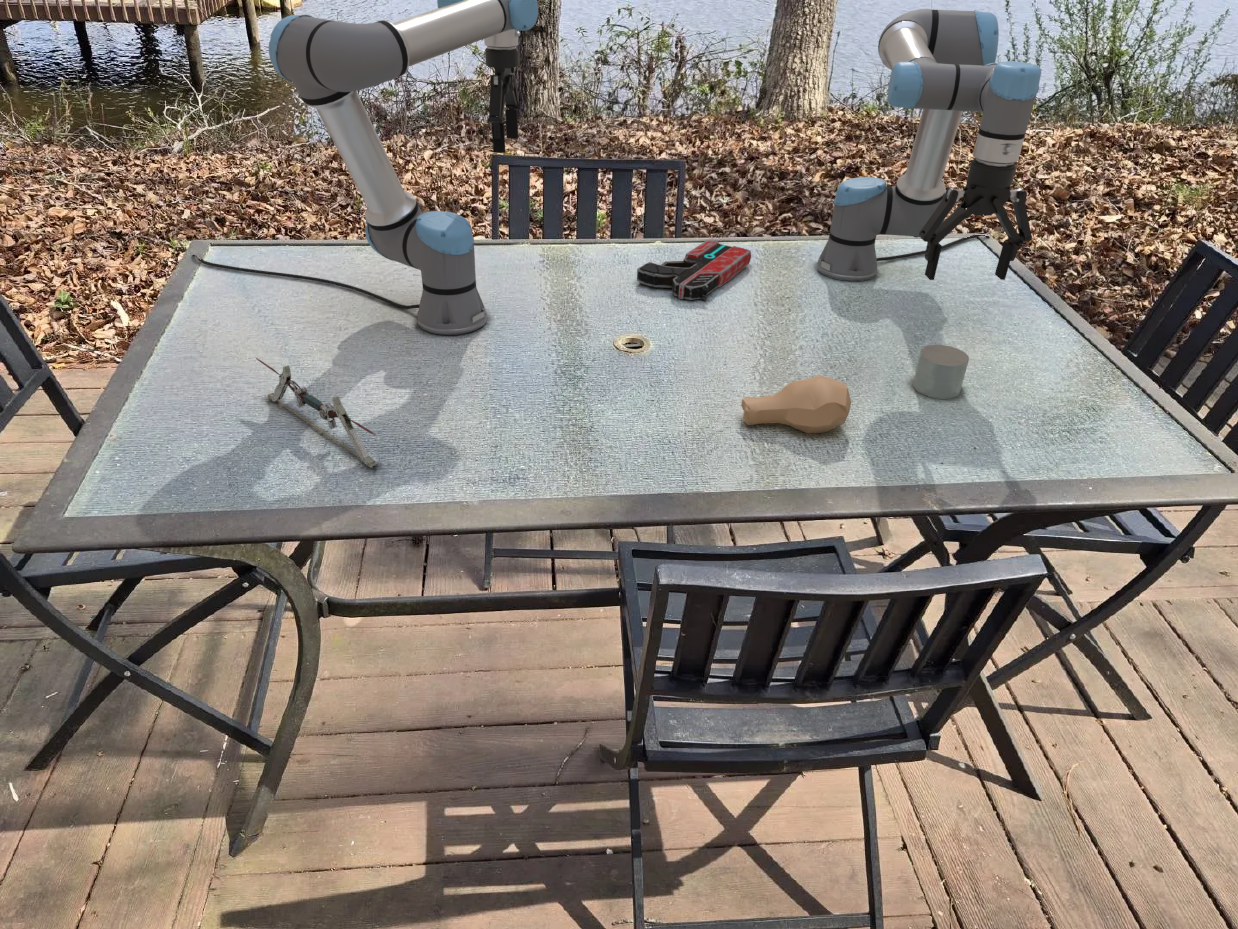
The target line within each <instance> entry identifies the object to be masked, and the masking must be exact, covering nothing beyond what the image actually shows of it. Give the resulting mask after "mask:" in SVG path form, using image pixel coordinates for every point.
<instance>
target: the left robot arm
mask: <svg viewBox="0 0 1238 929" xmlns="http://www.w3.org/2000/svg"><path fill="white" fill-rule="evenodd" d="M436 3H437V8H435V9H432V10H430V11H426V12H423V13H419V14H417V15H414V16H411V17H408V18H405V19H402V20H399V21H398V20H397V21H396V22H390V21H389V20H386V19H380V20H377V21H374V22H370V23H355V22H354V23H353V22H344V21H339V20H331V19H326V18H319V17H314V16H312V15H309V14H291V15H287V16H286V17H283V18H282V19H280V20H279V21H278V22H277V23H276V25H275V26H274V27H273V29H272V31H271V33H270V40H269V42H268V56H269V59H270V60H269V61H270V63H271V65H272V67H273V68H274V70H275V71H276V73H277V74H278V75H279V76H281V78H283V79H284V80H285V81H287V82H292V83H293V85H294V87H295V89H296V90H297V93H298V94H299V96H300V98H301V101H302V102H303V104H304V105H305V106H307V107H310V108H312V109H315V110H316V111H317V113H318V115H319V117H320V119H321V121H322V122H323V125H324V127H325V128H326V131H327V133H328V135H329V136H330V139H331V140H332V142H333V144H334V146H335V148H336V149H337V152H338V154H339V156H340V157H341V159H342V161H343V164H344V165H345V167H346V169H347V171H348V173H349V174H350V176H351V179H352V180H353V182H354V185H355V187H356V188H357V190H358V192H359V194H360V196H361V198H362V200H363V202H364V203H365V205H366V209H365V211H364V212H365V213H364V219H365V225H366V226H365V228H364V234H365V237H366V241H367V242H368V244H369V246H370V247H371V248H372V250H373V251H375V253H376V254H379V256H382V257H383V258H384V259H387V260H389V261H394V262H397V263H399V264H402V265H405V266H408V267H410V268H413V269H416V270H418V271H420V275H421V276H420V277H421V284H422V292H421V297H420V302H419V304H411V305H405V304H401V303H398V302H395V301H393V300H391V299H389V298H386V297H383V296H381V295H379V294H376V293H374V292H371V291H368V290H367V289H362V288H361V287H357V286H353V285H349V284H346V283H343V282H339V281H334V280H329V279H324V278H321V277H320V278H319V277H313V276H307V275H300V274H293V273H284V272H277V271H268V270H259V269H253V268H246V267H238V266H232V265H227V264H226V265H225V264H220V263H214V262H209V261H206V260H204V259H203V258H202V260H200V259H198V258H197V260H198V261H199V262H200V263H202V264H204V265H206V266H209V267H214V268H220V269H225V270H232V271H239V272H246V273H251V274H261V275H269V276H278V277H284V278H292V279H299V280H307V281H313V282H319V283H323V284H329V285H332V286H338V287H342V288H345V289H349V290H353V291H355V292H359V293H362V294H365V295H368V296H370V297H372V298H374V299H378V300H379V301H383V302H384V303H387V304H389V305H392V306H393V307H397V308H400V309H402V310H403V309H404V310H412V309H418V310H417V317H416V318H417V325H418V326H419V328H420V329H421V330H423V331H424V332H427V333H430V334H433V335H440V336H459V335H465V334H469V333H473V332H476V331H477V330H480V329H481V328H483V327H484V326H485V325H486V323H487V320H488V316H487V310H486V306H485V304H484V302H483V299H482V298H481V295H480V293H479V291H478V288H477V278H476V277H477V276H476V258H475V257H476V256H475V238H474V236H473V228H472V225H471V223H470V221H469V220H467V218H466V217H464V216H462V215H461V214H458V213H455V212H451V211H443V210H431V211H427V212H424V213H423V212H422V210H421V207H420V205H419V203H418V200H417V199H416V197H415V195H414V194H413V193H412V192H410V191H406V190H404V188H403V185H402V184H401V181H400V180H399V176H398V175H397V173H396V171H395V168H394V166H393V165H392V162H391V161H390V160H391V159H390V158H389V157H388V154H387V152H386V149H385V148H384V146H383V144H382V141H381V140H380V137H379V135H378V134H377V131H376V129H375V126H374V125H373V122H372V121H371V119H370V116H369V114H368V112H367V110H366V108H365V106H364V104H363V101H362V100H361V97H360V95H359V93H358V91H362V90H367V89H369V88H372V87H376V86H379V85H381V84H383V83H386V82H390V81H392V80H394V79H396V78H400V77H403V76H404V75H406V73H407V72H408V70H409V67H412V66H415V65H418V64H420V63H422V62H426V61H428V60H431V59H433V58H436V57H439V56H441V55H444V54H448V53H450V52H453V51H455V50H458V49H461V48H463V47H466V46H469V45H471V44H474V43H477V42H479V41H480V42H481V41H482V40H483V42H484V46H486V47H485V49H484V56H485V57H484V58H485V66H486V67H488V68H493V70H494V73H493V74H491V75H490V76H489V79H490V93H489V108H488V118H487V123H488V124H491V132H492V133H491V135H492V153H498V154H499V153H500V154H506V139H514V140H515V139H519V123H518V121H519V120H518V110H521V107H522V106H521V104H520V98H519V91H518V85H517V80H516V68H518V66H519V65H520V51H519V49H518V45H519V37H520V36H521V31H529V30H531V29H532V28H533V27H534V26H535V24H536V22H537V21H538V18H539V5H538V0H437V1H436ZM505 106H506V109H505ZM504 113H505V122H504ZM505 129H506V130H505ZM505 131H506V133H505Z"/></svg>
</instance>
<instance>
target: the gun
mask: <svg viewBox="0 0 1238 929" xmlns="http://www.w3.org/2000/svg"><path fill="white" fill-rule="evenodd" d="M751 259H752V251H751V250H750V249H747V248H743V247H739V246H736V245H733V246H731V245H728V244H722V243H719V241H718V240H714V239H713V240H712V239H706V240H705V241H704V242H702V243H700V244H699V245H697V246H696V247H694V248H692V249H691V250H689V251H688V252H687V253H685V255H684V258H683V260H667V261H664V262H662V263H660V264H657V263H655V262H652V261H648V262H646V263H645V264H643V265H641V266H639V267H637V269H636V270H637V271H636V282H638V283H640V284H642V285H646V286H649V287H653V288H670V289H671V292H672V294H673V296H675V297H678V299H679V300H684V299H685V300H689V301H693V300H703V301H707V300H708V295H709V294H711V293H712V292H713V291H715V290H716V289H717V288H721V287H722V286H724V285H725V284H726V283H727V282H729V281H730V280H732V279H733V278H734V277H735V276H737V275H738V274H739V273H740V272H741V271H743V270H744V269H745V268H746V267H747V266H748V265H750V263H751Z"/></svg>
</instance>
